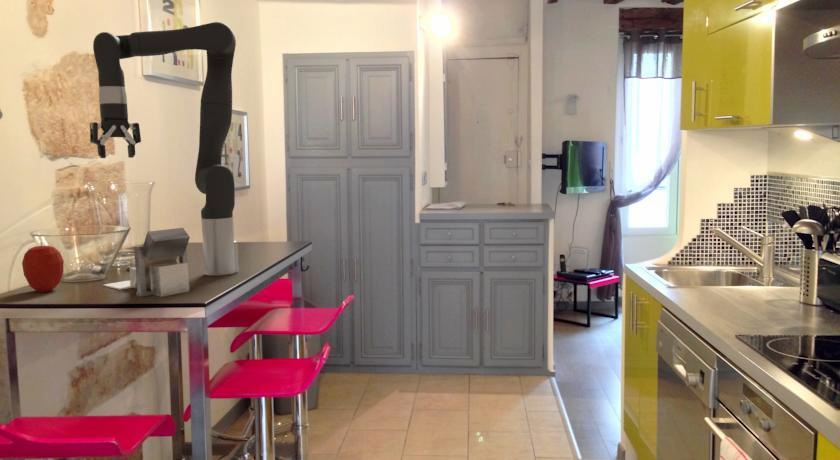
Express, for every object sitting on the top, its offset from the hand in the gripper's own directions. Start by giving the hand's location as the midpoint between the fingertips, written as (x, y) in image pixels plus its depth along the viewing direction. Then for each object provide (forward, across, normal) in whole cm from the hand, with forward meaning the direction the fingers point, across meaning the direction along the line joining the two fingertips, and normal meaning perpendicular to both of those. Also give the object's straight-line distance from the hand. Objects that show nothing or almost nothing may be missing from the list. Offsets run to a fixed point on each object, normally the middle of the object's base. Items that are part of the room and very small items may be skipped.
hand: (117, 157), depth 209 cm
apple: (+36, -24, -2) cm, 44 cm away
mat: (+36, -5, -14) cm, 39 cm away
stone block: (+34, -5, -25) cm, 42 cm away
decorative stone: (+36, +10, +12) cm, 40 cm away
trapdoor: (+29, -5, -33) cm, 44 cm away
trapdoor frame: (+36, -5, -34) cm, 50 cm away
